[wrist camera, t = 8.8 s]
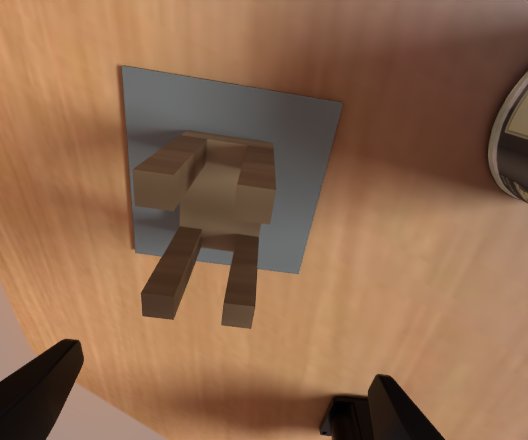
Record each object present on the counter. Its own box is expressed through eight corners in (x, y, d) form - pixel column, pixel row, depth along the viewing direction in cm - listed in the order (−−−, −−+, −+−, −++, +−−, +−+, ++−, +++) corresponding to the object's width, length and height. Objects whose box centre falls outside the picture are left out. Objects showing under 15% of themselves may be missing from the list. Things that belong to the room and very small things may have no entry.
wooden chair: (187, 129, 16) (132, 169, 10) (273, 143, 17) (276, 190, 10) (185, 233, 19) (142, 316, 13) (256, 242, 20) (251, 328, 13)
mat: (297, 270, 21) (298, 274, 21) (137, 249, 21) (135, 252, 20) (341, 102, 16) (343, 102, 15) (125, 65, 15) (121, 65, 15)
